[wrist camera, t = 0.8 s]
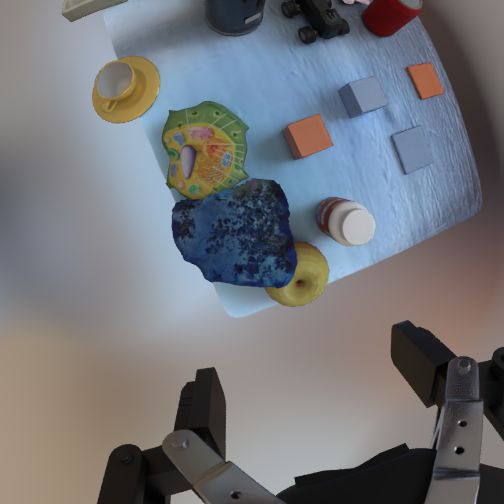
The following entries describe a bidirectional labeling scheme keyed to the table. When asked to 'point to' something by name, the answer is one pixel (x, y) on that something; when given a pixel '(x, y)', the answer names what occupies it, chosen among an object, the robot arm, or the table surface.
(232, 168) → the educational model
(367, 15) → the beverage can
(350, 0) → the flower
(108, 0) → the cosmetic box
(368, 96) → the slate-blue block
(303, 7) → the toy vehicle
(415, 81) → the terracotta mat
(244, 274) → the rock
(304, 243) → the apple
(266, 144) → the table surface
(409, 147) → the slate-blue mat
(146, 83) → the cup
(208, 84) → the table surface
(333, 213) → the pill bottle
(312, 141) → the terracotta block
